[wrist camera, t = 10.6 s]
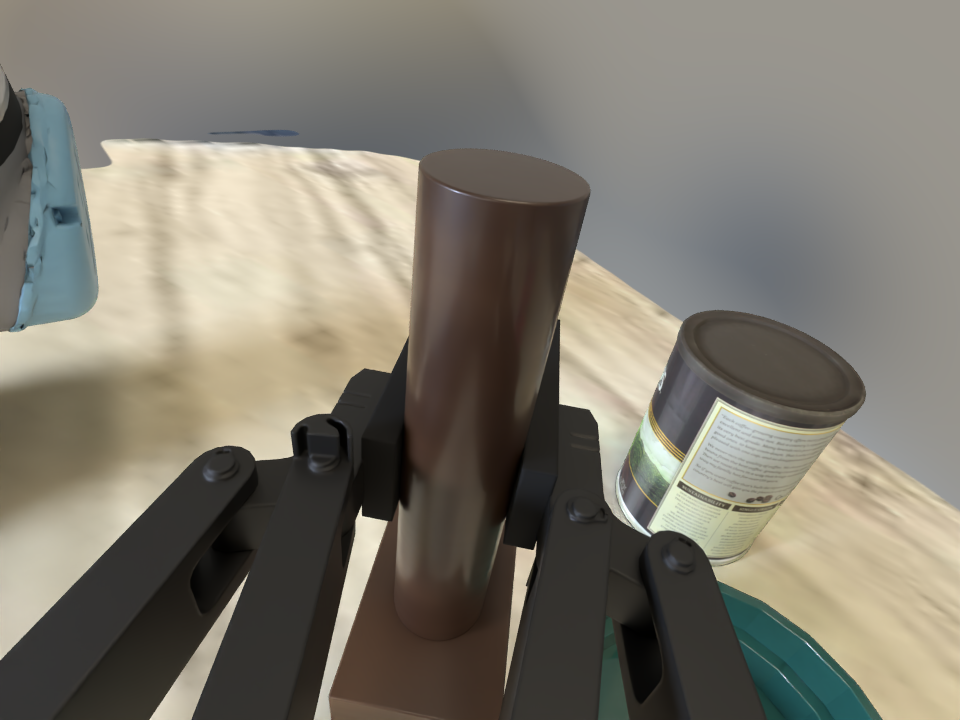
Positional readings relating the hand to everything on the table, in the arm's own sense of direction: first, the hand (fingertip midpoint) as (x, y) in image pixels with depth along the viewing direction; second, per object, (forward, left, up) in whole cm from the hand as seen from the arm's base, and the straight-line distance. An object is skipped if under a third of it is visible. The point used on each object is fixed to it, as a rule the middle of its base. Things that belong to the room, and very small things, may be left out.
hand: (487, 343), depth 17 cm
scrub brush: (0, -5, -10) cm, 11 cm away
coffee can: (+16, +13, -20) cm, 29 cm away
